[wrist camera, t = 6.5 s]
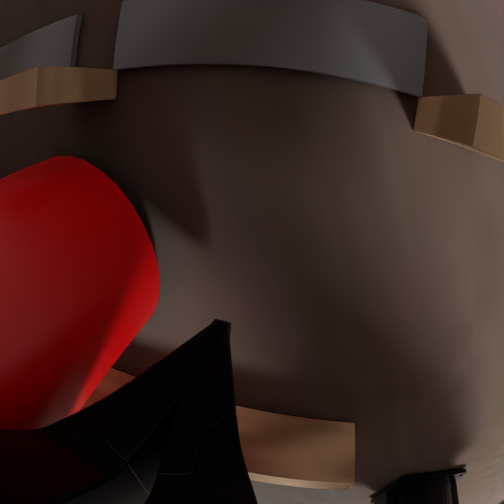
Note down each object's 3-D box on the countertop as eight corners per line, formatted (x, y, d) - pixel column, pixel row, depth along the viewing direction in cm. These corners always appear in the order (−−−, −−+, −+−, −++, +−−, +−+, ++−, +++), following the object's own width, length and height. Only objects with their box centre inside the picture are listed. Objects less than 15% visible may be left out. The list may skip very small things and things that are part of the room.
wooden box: (481, 45, 5) (592, 23, 1) (348, 432, 13) (345, 516, 9) (-34, 69, 8) (-102, 84, 4) (9, 326, 16) (-32, 368, 12)
